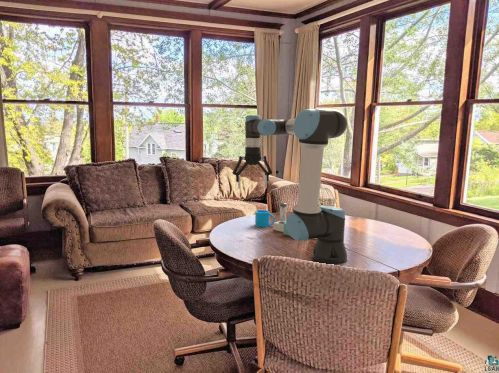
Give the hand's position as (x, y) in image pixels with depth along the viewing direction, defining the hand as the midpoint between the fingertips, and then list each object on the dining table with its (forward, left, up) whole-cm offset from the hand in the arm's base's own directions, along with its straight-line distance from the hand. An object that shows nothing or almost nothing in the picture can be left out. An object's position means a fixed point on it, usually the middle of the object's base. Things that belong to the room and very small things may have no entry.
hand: (252, 188), depth 209 cm
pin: (-3, -22, -26) cm, 34 cm away
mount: (-3, -22, -26) cm, 34 cm away
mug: (+10, -22, -26) cm, 36 cm away
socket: (-13, -20, -26) cm, 35 cm away
